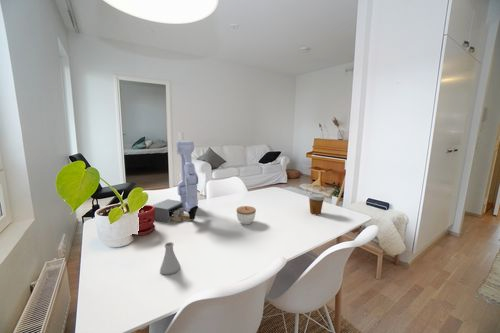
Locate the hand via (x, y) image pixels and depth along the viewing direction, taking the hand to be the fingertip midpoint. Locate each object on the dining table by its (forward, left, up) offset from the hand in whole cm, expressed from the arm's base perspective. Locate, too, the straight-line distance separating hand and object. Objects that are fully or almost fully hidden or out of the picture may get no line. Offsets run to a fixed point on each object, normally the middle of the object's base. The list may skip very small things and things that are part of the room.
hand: (192, 219), depth 126 cm
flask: (+40, +18, -1) cm, 44 cm away
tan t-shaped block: (0, -7, -1) cm, 7 cm away
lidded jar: (-10, +28, -1) cm, 30 cm away
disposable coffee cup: (-40, +63, -1) cm, 75 cm away
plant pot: (+21, -16, -1) cm, 26 cm away
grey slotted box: (0, -18, -1) cm, 18 cm away
